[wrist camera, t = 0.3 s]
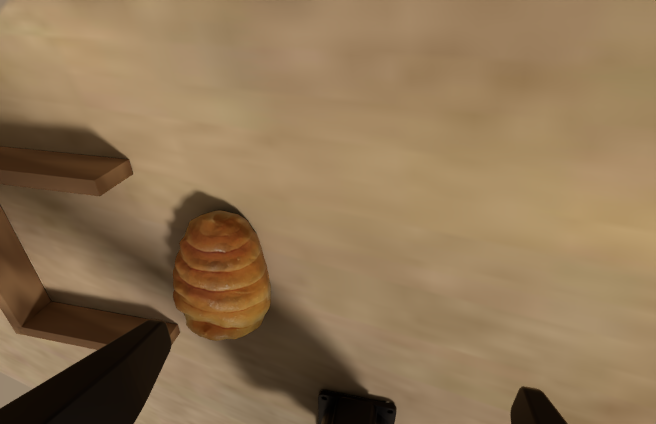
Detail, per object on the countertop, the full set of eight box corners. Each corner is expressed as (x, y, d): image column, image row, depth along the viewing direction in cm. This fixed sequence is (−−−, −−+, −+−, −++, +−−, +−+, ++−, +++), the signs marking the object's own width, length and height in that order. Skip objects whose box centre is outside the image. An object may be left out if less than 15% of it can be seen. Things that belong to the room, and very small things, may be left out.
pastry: (179, 194, 25) (143, 226, 21) (277, 214, 24) (255, 250, 21) (193, 297, 30) (165, 335, 26) (274, 315, 29) (257, 357, 26)
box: (179, 332, 32) (159, 362, 29) (45, 307, 34) (16, 333, 32) (128, 159, 24) (94, 180, 21) (-45, 141, 26) (-95, 158, 23)
